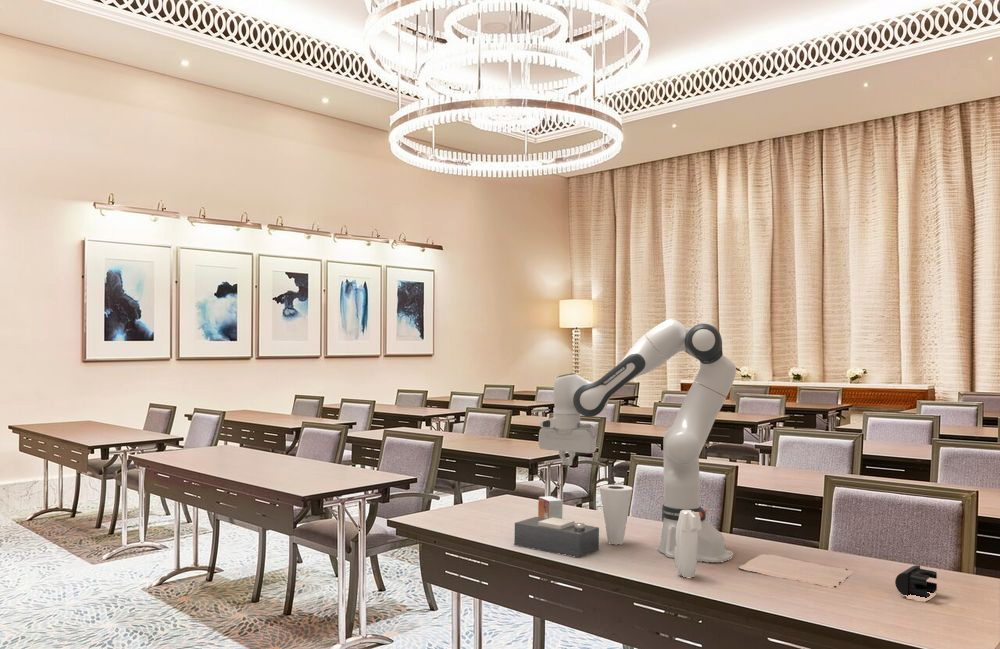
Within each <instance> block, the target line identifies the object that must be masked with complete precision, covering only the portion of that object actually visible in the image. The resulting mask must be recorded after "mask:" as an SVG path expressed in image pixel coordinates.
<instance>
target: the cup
mask: <svg viewBox="0 0 1000 649" xmlns="http://www.w3.org/2000/svg"><path fill="white" fill-rule="evenodd" d="M599 492H600V494H599V495H600V501H601V505H602V512H603V513H602V514H603V518H604V524H605V532H606V539H607V543H608V544H609V543H610V544H609V545H611V544H622V545H623V544H624V541H625V540H624V539H625V534H626V529H627V528H626V527H627V526H626V525H627V522H628V517H629V516H628V515H629V510H630V505H631V500H632V499H631V498H632V492H633V487H632V486H628V485H624V484H622V485H621V484H603V485H600V486H599Z"/></svg>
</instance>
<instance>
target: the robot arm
mask: <svg viewBox="0 0 1000 649" xmlns="http://www.w3.org/2000/svg"><path fill="white" fill-rule="evenodd" d="M680 352H685V353H687V354H688V355H690V356H691V357H693V358H694V359H696V360H698V361H699V365H700V366H699V369H698V372H697V374H696V376H695V378H694V380H693V382H692V384H691V386H690V388H689V390H688V392H687V393H686V395H685V398H684V399H683V401H682V403H681V406H680V408H679V410H678V412H677V415H676V417H675V418H674V422H673V423H672V425H671V427H670V428H668V429H667V430H666V432H665V433H664V435H663V441H662V442H663V443H662V444H663V448H662V450H663V451H662V452H663V454H662V455H663V504H662V508H661V509H662V510H661V519H662V529H661V536H660V541H659V545H658V548H657V549H658V552H659V553H662V554H663V555H664V556H665V557H667V558H671V559H675V556H674V548H675V546H677V544H676V527H677V523H678V519H679V514H680V511H681V510H691V511H692V512H693V511H694V512H699V515H700V520H701V526H702V529H701V530H697V537H698V555H697V562H702V561H705V562H704V563H709V562H721V561H725V560H728V559H730V558H731V557H732V556H733V557H734V553H733V551H732V550H728V549H726V548H727V547H726V542H725V539H724V538H725V537H724V536H723V533H721V532H720V531H719V530H718V529H717V528H715V527H714V526H713V525H712V524H711V523H710V522H709V521H708V520H706V518H707V517H706V516H707V515H706V514H708V509H706V510H704V509H703V507H701V479H700V461H699V459H700V458H699V456H700V454H701V452H702V450H703V448H704V446H705V444H706V441H707V439H708V437H709V434H710V432H711V430H712V428H713V425H714V424H715V421H716V419H717V416H718V415H719V413H720V411H721V409H722V407H723V405H724V403H725V401H726V399H727V397H728V396H729V393H730V391H731V388H732V386H733V383H734V381H735V377H736V373H737V366H736V364H735V363H734V361H732V360H731V359H730V358H728V357H726V356H725V355H724V354H723V352H724V351H723V339H722V335H721V333H720V331H719V330H718V329H717V328H716V327H715V326H714V325H712V324H709V323H697V325H694V326H692V327H691V328H687V327H686V326H684V324H683V323H681V322H680V321H678V319H677V320H676V319H674V318H669V319H666V320H664V321H662V322H661V323H658V324H657V325H655V326H654V327H653V328H650V330H648V331H647V332H645V334H643V335H642V336H641V337H640V338H639V339H638V340H637V341H635V343H634V344H633V345H632V346H631V347H630V349H629V350H628V351H627V353H626V354H625V356H624V357H623V358H622V360H620V362H619V363H618V364H617V365H615V366H614V367H613V368H612V369H611V370H609V371H608V372H607V373H605V374H604V375H603V376H602V377H601V378H599V379H597V380H596V381H595V382H593V381H590V380H587V379H586V378H583V377H582V376H580V375H579V374H578V373H575V372H571V373H566V374H561V375H558V376H557V377H556V378H555V380H554V383H553V396H552V398H553V400H552V401H553V404H554V408H553V417H550V418H547V419H544V420H541V421H540V422H539V424H540V425H539V426H540V429H539V432H538V446H539V449H540V450H542V451H543V450H545V451H555V452H556V451H557V452H558V456H559V458H560V459H561V465H562V466H573V460H574V458H575V456H576V453H582V454H593V453H595V452H596V451H597V442H596V441H597V440H596V428H595V427H594V426H593V425H592V424H589V423H581V416H584V417H588V418H590V417H593V418H594V417H596V416H598V415H600V413H601V412H602V411H603V410H605V409H606V407H607V406H608V405H609V401H610V398H611V397H612V396H613V395H614V394H615V393H616V392H618V391H619V390H621V388H623V387H624V386H625V385H626V384H628V383H629V382H630V381H632V380H634V379H635V378H636V379H637V378H638V377H640V376H644V375H646V374H648V373H650V372H653V371H654V370H656V369H657V368H659V367H661V366H663V365H664V364H665V363H667V361H669V360H670V359H671V358H672V357H673V356H675V355H677V354H678V353H680ZM567 452H568V456H569V457H568V459H567V458H566V454H567ZM730 560H731V559H730ZM728 561H729V560H728Z"/></svg>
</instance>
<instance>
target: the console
mask: <svg viewBox="0 0 1000 649" xmlns="http://www.w3.org/2000/svg"><path fill="white" fill-rule="evenodd" d="M545 519H546V518H540V517H538V516H534V517H533V516H532V517H530V518H526V519H523V520H520V521H516V522H514V544H513V545H514V546H517V545H518V547H522V546H523V547H522V548H527V547H529V548H528V549H532V548H534V549H533V550H537V549H540V550H539V551H542V550H544V551H543V552H547V551H549V552H548V553H552V552H554V554H557V553H560V554H559V555H562V554H566V555H565V556H567V555H571V556H570V557H572V556H575V557H574V558H577V557H578V558H577V559H580V558H582V556H583V557H585V556H587V554H588V555H590V554H592V552H593V553H595V552H597V550H598V551H599V549H600V527H598V526H593V525H592V526H591V525H586V523H584V522H575V524H574V525H573V526H570V527H567V528H564V529H555V528H549V527H544V526H538V522H539V521H542V520H545ZM589 553H590V554H589Z"/></svg>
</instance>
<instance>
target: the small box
mask: <svg viewBox="0 0 1000 649" xmlns="http://www.w3.org/2000/svg"><path fill="white" fill-rule="evenodd" d="M563 504H564V503H563V499H559V498H558V497H555V496H552V495H551V496H549V495H548V496H539V497H538V507H537V508H538V509H537V510H538V512H537V514H538V515H537V517H540V518H546V519H549V518H552V517H554V518H560V519H563Z"/></svg>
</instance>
